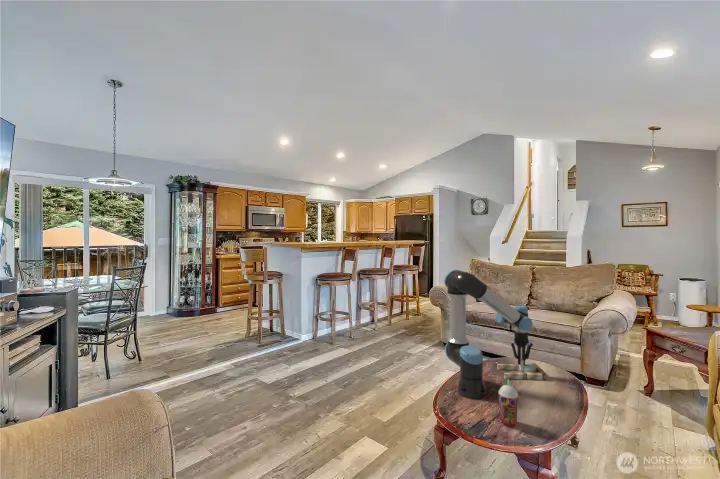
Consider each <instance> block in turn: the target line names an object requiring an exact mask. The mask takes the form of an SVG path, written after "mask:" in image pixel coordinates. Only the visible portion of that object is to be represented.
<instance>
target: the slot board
mask: <svg viewBox="0 0 720 479" xmlns="http://www.w3.org/2000/svg"><path fill="white" fill-rule="evenodd" d="M531 363H532V364H534V365H535V372H525V373H521V372H522V371H521V370H520V369H519V364H515V363H514V364H513V363H511V364H510V363H509V364H508V363H497V366H496V367H497V370H499V371H500V370H501V371H502V370H503V371H504V370H505V371H507V370H508V371H517V372H504V373H503V378H504V380H508V379H509V380H525V379H527V380H528V381H529V380H530V381H531V380H532V381H546V380H547V373H546V372H545V371H544V370H543V369H542V368H541V367H540V366H539V365H538V364H537V363H533V362H531Z"/></svg>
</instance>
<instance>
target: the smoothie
mask: <svg viewBox="0 0 720 479" xmlns="http://www.w3.org/2000/svg"><path fill="white" fill-rule="evenodd" d="M497 393H498V403H499V404H498V405H499V418H500V422H501V424H503V425H504V426H506V427H515V426H516V423H518V422H517V421H518V407H519V393H518V391H517V389H516V388H515V387H514V386H513V385H511V384H510V379H507V384H504V385H502V386H501V387H500V388H499V390H498V392H497Z"/></svg>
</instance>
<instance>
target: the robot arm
mask: <svg viewBox="0 0 720 479" xmlns="http://www.w3.org/2000/svg"><path fill="white" fill-rule="evenodd" d="M443 283H444V285H445V287H446V288H447V294H448V295H449V299H450V302H449V303H450V306H449V307H450V311H449V312H450V313H449V314H450V337H449V338H448V339H447V343H446V344H445V347H444V352H445V355H446V356H447V358H448V359H449V360H450V362H452V363H454V364H456V365H457V366H458V367H459V369H460V371H459V373H460V374H459V379H458V381H457V385H456V392H457V393H458V394H459V395H461V397H465V398H467V399H483V398H485V397H486V396H487V388H486V384H485V382H484V377H483V376H484V374H483V372H484V367H483V366H484V363H483V362H484V358H483V357H484V356H483V352H482V351H481V349H479V348H478V347H476V346H473V345H470V341H469V339H468V338H467V319H466V318H467V316H466V315H467V312H466V310H467V309H466V308H467V305H466V302H467V301H466V299H467V298H466V297H467V296H471V297H472V298H474V299H475V300H480V301H481V302H482V303H483V304H485V305H486V306H487V307H489V308H490V309H491V310H493V311H494V312H495V320H496V321H497V323H498V324H500V325H501V324H503V325H504V324H507V325H510V326H513V328H514V329H513V330H514V333H513V334H514V338H513V341H510V342H509V344H510V346H511V349H512V353H513V356H514V358H515V359H516V360H517V365H518V366H519V369H520V370H521V371H520V372H522V371H523V365H525V362H526V360H528V359H529V357H530V353H531V349H532V347H533V345H534V344H533V343H532V342H531V341H530V340H529V331H530V330H531V329H532V327H533V326H534V325H533V323H534V322H533V320H532V319H531V318H530V317H529V308H528V307H527V306H526V305H514V307H513V306H512V305H510V304H509V303H508V302H506V300H503V299H502V298H501V297H500V296H499V295H498V294H496V293H494V292H493V291H492V290H490V289H489V288H488V285H487V284H486V283H484V282H483V281H482V280H480V279H479V278H478V277H477V276H475V275H474V274H473V273H470V272H467V271H463V270H460V269H452V270H449V271H448V272H447V273H446V274H445V276H444V279H443ZM515 345H516V346H515ZM516 348H517V349H516Z"/></svg>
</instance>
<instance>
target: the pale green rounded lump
mask: <svg viewBox="0 0 720 479" xmlns="http://www.w3.org/2000/svg"><path fill="white" fill-rule="evenodd" d="M532 363H533V362H526V361H525V365H523V371H521V372H522V373H525V372H535V365H534V364H532Z"/></svg>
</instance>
